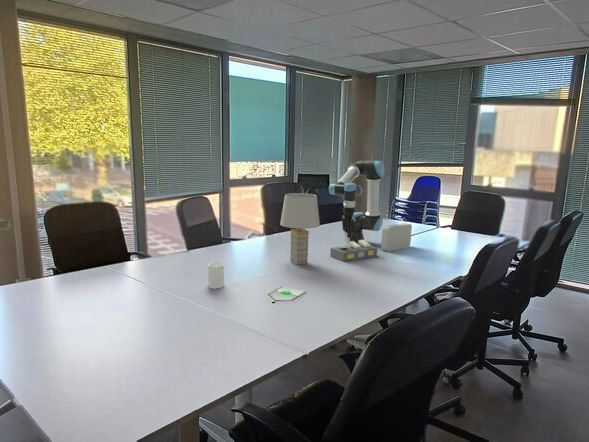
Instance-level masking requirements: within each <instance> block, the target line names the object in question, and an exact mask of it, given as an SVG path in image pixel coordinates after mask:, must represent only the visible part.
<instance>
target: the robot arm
mask: <svg viewBox="0 0 589 442" xmlns="http://www.w3.org/2000/svg"><path fill="white" fill-rule="evenodd" d="M384 175H385V165H384V163H383V161H381V160H373V159H371V160H369V159H366V160H364V159H362V160H358V161H355V162H354V163H352V164H351V165H350V166H348V168H347V171H346V172H345V173H344V174H343V175H342V176H341V177H340V178H339V179H338V180H337V182H336V183H330V184H329V186H328V193H329V194H330V195H333V196H343V215H341V216H340V218H341V223H342V225H341V226H342V231H344V242H345V243H348V242H350V241H354V242H356V243H357V244H359V243H358V240H364V241H365V238H364V233H363V230H365V231H372V232H379V231H381V229H382V226H383V221H384V218H383V216H382V215H381V212H380V211H379V210H380V209H379V207H380V205H379V204H380V181H381V180H382V178H383V177H384ZM359 176H365V179H366V180H367V200H366V201H367V202H366V203H367V204H366V205H367V207H366V208H367V209H366V212H365V213H364V212H363V211H362V212H361V211H360V212H358V211H357V212H355V211H356V210H355V209H356V208H355V207H356V197H359V196H361V195H362V194H363V188H362V186H361V185H359V184H356V183H352V182H353V181H354V180H355V178H357V177H359Z"/></svg>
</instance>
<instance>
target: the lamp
mask: <svg viewBox="0 0 589 442" xmlns="http://www.w3.org/2000/svg"><path fill="white" fill-rule="evenodd" d="M318 206H319V205H318V197H317V195H316V194H312V193H300V192H299V193H297V192H296V193H295V192H294V193H286V194H285V195H284V200H283V207H282V211H281V217H280V224H279V225H280V226H281V227H284V228H290V256H289V257H290V258H289V259H290V260H289V261H290V262H291V263H293V264H295V265H305V264H308V260H309V259H308V258H309V233H310V231H309V230H307V229H315V228H318V227H320V224H321V223H320V215H319V214H320V213H319V207H318Z"/></svg>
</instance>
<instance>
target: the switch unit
mask: <svg viewBox="0 0 589 442" xmlns="http://www.w3.org/2000/svg"><path fill="white" fill-rule="evenodd" d="M357 244H358V245H360V246H361V247H360V249H355V248H353V247H352V246H351V245H350V246H351V247H347V248H338V246H336V247H330V255H329V257H330V258H333V259H336V260H338V261H341V262H344V263H345V262H350V261H355V260H361V259H367V258H372V257H377V256H378V247H376V246H373V245H372V244H370V247H366V248H365V247H364V246H362V245H361V244H360V243H357Z"/></svg>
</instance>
